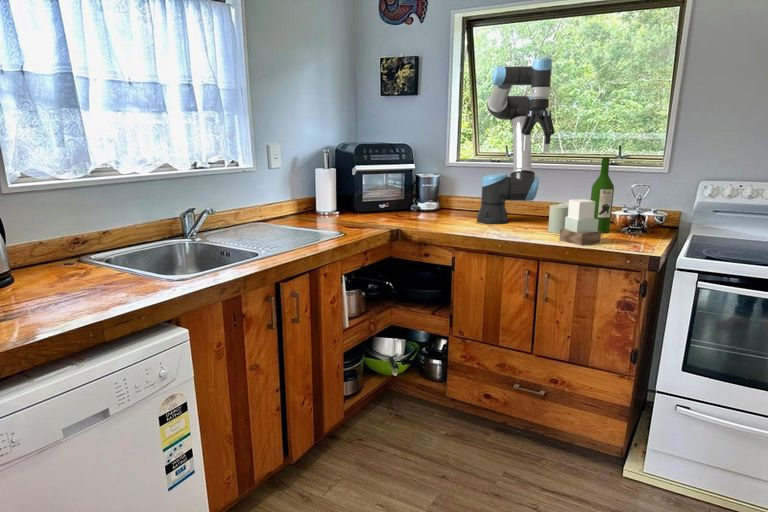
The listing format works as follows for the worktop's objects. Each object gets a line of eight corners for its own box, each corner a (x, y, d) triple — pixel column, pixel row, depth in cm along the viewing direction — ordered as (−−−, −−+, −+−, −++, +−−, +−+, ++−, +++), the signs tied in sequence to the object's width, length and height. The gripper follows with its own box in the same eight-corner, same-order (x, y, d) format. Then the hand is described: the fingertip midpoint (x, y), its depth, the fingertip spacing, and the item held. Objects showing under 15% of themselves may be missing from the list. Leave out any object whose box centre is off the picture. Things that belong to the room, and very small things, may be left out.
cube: (567, 217, 200) (569, 199, 199) (582, 216, 202) (584, 199, 200) (578, 219, 194) (579, 202, 192) (593, 218, 195) (595, 201, 194)
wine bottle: (594, 233, 214) (602, 158, 207) (583, 230, 223) (590, 157, 215) (613, 233, 216) (622, 157, 208) (601, 229, 224) (609, 156, 216)
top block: (564, 228, 203) (565, 216, 201) (584, 227, 204) (585, 215, 203) (576, 232, 194) (577, 220, 193) (597, 231, 196) (598, 219, 194)
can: (570, 234, 214) (573, 206, 212) (548, 233, 216) (550, 206, 213) (567, 230, 223) (569, 203, 220) (546, 229, 225) (548, 203, 222)
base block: (559, 241, 202) (560, 229, 201) (577, 238, 207) (578, 226, 206) (581, 246, 193) (582, 233, 192) (600, 243, 198) (601, 231, 197)
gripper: (515, 99, 212) (512, 149, 218) (550, 97, 189) (545, 153, 195) (530, 99, 214) (526, 149, 220) (566, 97, 191) (561, 152, 197)
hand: (535, 151), depth 207 cm, fingers open, 13 cm apart
